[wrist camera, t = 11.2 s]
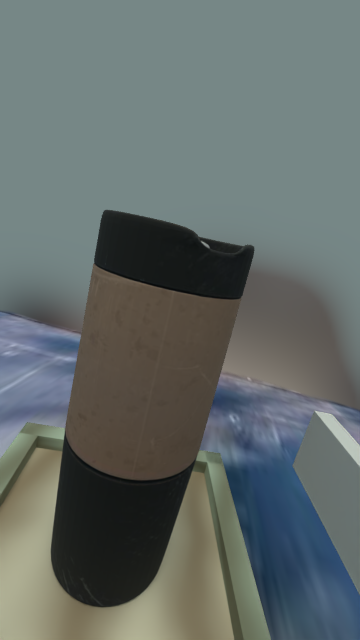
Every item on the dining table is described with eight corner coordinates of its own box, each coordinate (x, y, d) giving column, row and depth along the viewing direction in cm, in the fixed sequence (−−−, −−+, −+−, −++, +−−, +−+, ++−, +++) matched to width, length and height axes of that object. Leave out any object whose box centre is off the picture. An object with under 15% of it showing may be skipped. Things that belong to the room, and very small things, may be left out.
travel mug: (90, 479, 24) (140, 223, 19) (180, 521, 22) (260, 251, 17) (14, 572, 17) (63, 197, 12) (138, 645, 15) (254, 241, 10)
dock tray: (211, 480, 30) (220, 453, 29) (282, 821, 12) (308, 776, 12) (23, 452, 28) (27, 422, 27) (-211, 814, 10) (-220, 758, 9)
